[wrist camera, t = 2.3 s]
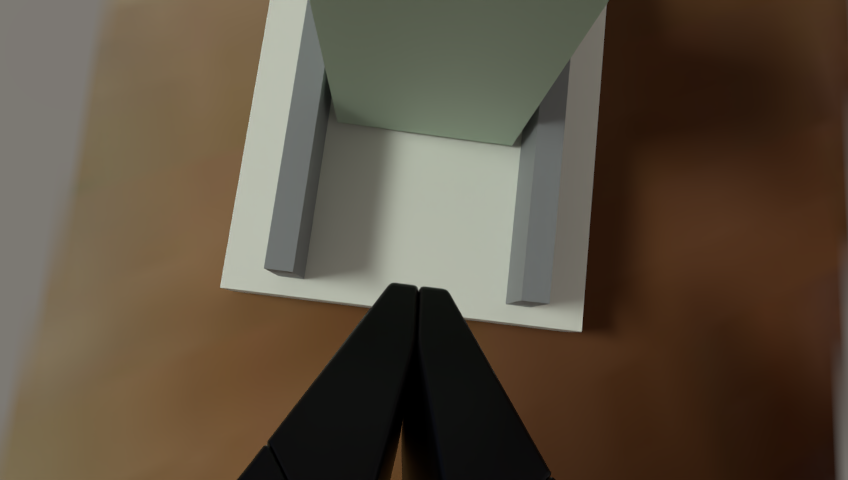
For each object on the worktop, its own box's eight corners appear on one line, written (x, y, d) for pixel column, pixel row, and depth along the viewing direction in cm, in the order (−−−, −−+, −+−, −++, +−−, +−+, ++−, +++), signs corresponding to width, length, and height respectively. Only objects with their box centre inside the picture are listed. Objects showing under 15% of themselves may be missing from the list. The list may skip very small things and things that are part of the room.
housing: (566, 332, 18) (652, 331, 12) (233, 291, 18) (157, 270, 12) (603, -134, 21) (689, -321, 15) (313, -179, 20) (284, -390, 14)
